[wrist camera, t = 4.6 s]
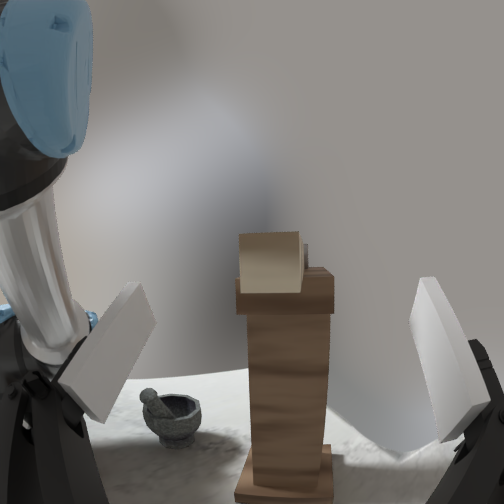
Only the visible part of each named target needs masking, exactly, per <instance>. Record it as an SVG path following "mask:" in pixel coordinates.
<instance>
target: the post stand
mask: <svg viewBox="0 0 504 504" xmlns="http://www.w3.org/2000/svg"><path fill="white" fill-rule="evenodd" d="M235 284H236V309H237V311H236V312H237V315H238V314H239V315H240V314H241V315H247V338H248V365H249V366H248V367H249V394H250V419H251V444H252V445H251V448H250V451H249V454H248V457H247V459H246V462H245V465H244V468H243V470H242V473H241V476H240V479H239V481H238V484H237V487H236V489H235V492H234V496H235V502H240V503H248V504H332V502H333V497H334V494H333V472H332V455H331V444H325V445H323V438H324V428H325V416H326V404H327V389H328V373H329V350H330V314H334V276H333V275H332V274H331V273H329V272H328V271H327V270H326V269H325V268H324V267H308V269H304V274H303V280H302V285H301V291H300V293H241V290H240V277H239V278H236V279H235Z"/></svg>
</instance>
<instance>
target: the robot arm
mask: <svg viewBox="0 0 504 504" xmlns="http://www.w3.org/2000/svg"><path fill="white" fill-rule="evenodd" d="M92 60H93V25H92V17H91V12H90V8H89V6H88V4H87V2H86V1H85V0H0V288H1V290H2V292H3V294H4V296H5V297H6V299H7V301H8V303H9V304H5V305H0V504H109V502H108V499H107V497H106V494H105V491H104V488H103V485H102V482H101V479H100V476H99V473H98V469H97V466H96V462H95V459H94V455H93V452H92V448H91V444H90V440H89V435H88V431H87V427H86V422H85V420H84V418H83V417H82V416H83V414H84V412H85V413H86V414H87V415H88V416H89V417H90V418H91V419H92V420H95V421H97V422H100V423H103V424H105V422H106V420H107V417H108V415H109V413H110V411H111V409H112V407H113V405H114V403H115V401H116V399H117V397H118V395H119V393H120V391H121V389H122V387H123V386H124V384H125V382H126V380H127V377H128V376H129V374H130V372H131V370H132V368H133V366H134V364H135V362H136V360H137V359H138V357H139V355H140V353H141V351H142V349H143V347H144V346H145V344H146V342H147V340H148V338H149V336H150V334H151V333H152V331H153V329H154V327H155V325H156V324H157V322H156V320H155V318H154V315H153V313H152V310H151V308H150V305H149V303H148V300H147V298H146V295H145V293H144V290H143V287H142V285H141V283H140V282H128V283H127V284H126V286H125V287H124V288H123V289H122V291H121V292H120V293H119V295H118V296H117V297H116V299H115V300H114V301H113V302H112V304H111V305H110V307H109V308H108V309H107V311H106V312H105V313H104V315H103V316H102V317H101V319H100V320H99V321H98V318H97V315H96V313H94V312H89V311H87V310H86V311H84V309H83V308H82V307H81V305H80V304H79V303H78V302H77V301H75V300H74V299H72V295H71V291H70V287H69V283H68V279H67V275H66V270H65V265H64V260H63V256H62V250H61V245H60V239H59V233H58V227H57V220H56V212H55V204H54V194H53V185H54V184H55V183H56V182H57V180H58V179H59V178H60V177H61V175H62V174H63V172H64V170H65V168H66V165H67V161H68V156H69V155H71V154H74V153H75V152H77V151H78V150H79V149H80V148H81V146H82V144H83V142H84V139H85V135H86V129H87V123H88V116H89V95H90V92H91V80H92ZM409 326H410V329H411V332H412V335H413V338H414V341H415V345H416V347H417V351H418V354H419V358H420V361H421V365H422V368H423V372H424V375H425V379H426V383H427V387H428V391H429V395H430V399H431V403H432V408H433V412H434V417H435V422H436V427H437V432H438V437H439V443H443V442H447V441H451V440H455V439H457V438H458V437H459V436H460V435H461V434H462V433H463V432H464V437H465V439H464V440H463V441H462V442H461V443H460V444H459V445H458V446H457V447H456V448H455V450H454V451H455V452H456V451H457V450H458V449H459V450H458V452H457V453H456V455H455V457H454V459H453V461H452V463H451V464H450V466H449V468H448V470H447V471H446V473H445V475H444V476H443V478H442V480H441V481H440V483H439V484H438V486H437V487H436V489H435V490H434V492H433V494H432V495H431V496H430V498H429V499H428V501H427V502H426V504H504V393H503V391H502V388H501V385H500V383H499V380H498V378H497V375H496V373H495V371H494V369H493V368H492V367H493V366H492V363H491V361H490V360H489V357H488V354H487V352H486V350H485V348H484V347H483V346H482V344H481V343H480V342H479V341H478V340H477V339H475V340H468V341H467V339H466V336H465V334H464V332H463V330H462V328H461V326H460V324H459V322H458V320H457V318H456V316H455V314H454V312H453V310H452V308H451V306H450V304H449V302H448V300H447V298H446V296H445V294H444V293H443V291H442V289H441V287H440V285H439V284H438V282H437V280H436V278H435V277H420V281H419V285H418V289H417V293H416V298H415V302H414V305H413V309H412V313H411V316H410V320H409ZM23 421H25V422H26V423H27V424H28V428H27V429H26V428H25V427H24V426H23Z"/></svg>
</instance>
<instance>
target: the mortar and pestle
mask: <svg viewBox="0 0 504 504" xmlns="http://www.w3.org/2000/svg"><path fill="white" fill-rule="evenodd" d="M140 401H141V402H142V403H144V405H143V416H144V420H145V422H146V425H147V426H148V427H149V428H150V429H151V431H152V432H154V433H155V434H157V435H158V436H159V441H160V443H161V444H163V445H164V446H165V447H168V448H175V449H179V448H183V447H187V446H189V445H190V444H191V443H193V442H194V435H193V433H194V432H195V431H196V430H197V429H198V428H199V426H200V424H201V416H202V415H201V408H200V403H199V401H198V400H196V399H194V398H192V397H190V396H188V395H179V394H167V395H161V396H157V392H156V391H155V390H154V389H152V388H146V389H144V390H143V391H142V392H141V393H140Z"/></svg>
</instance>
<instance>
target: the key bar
mask: <svg viewBox="0 0 504 504" xmlns="http://www.w3.org/2000/svg"><path fill="white" fill-rule="evenodd" d="M239 257H240V290H241V293H300V291H301V285H302V280H303V274H304V269H308V244H303V241H302V239H301V236H300V234H299V231H298V232H273V233H248V234H239Z"/></svg>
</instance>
